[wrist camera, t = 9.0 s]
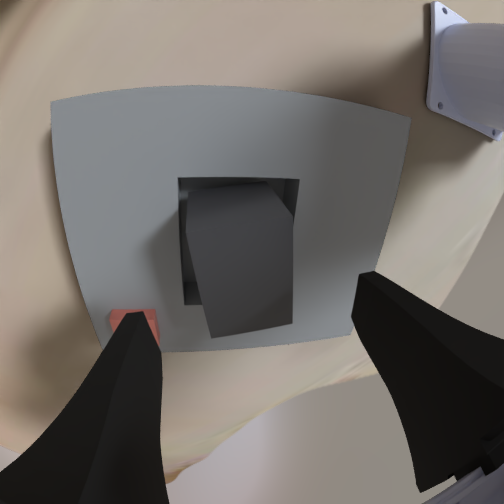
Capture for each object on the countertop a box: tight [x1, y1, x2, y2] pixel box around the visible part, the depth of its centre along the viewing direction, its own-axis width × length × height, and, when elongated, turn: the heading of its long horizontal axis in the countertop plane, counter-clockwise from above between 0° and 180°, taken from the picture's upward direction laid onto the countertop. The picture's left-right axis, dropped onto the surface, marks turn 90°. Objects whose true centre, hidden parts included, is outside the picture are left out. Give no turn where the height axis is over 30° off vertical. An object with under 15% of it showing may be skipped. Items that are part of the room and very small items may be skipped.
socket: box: [51, 85, 411, 352], centre depth 14 cm, size 16×14×3 cm
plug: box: [186, 181, 293, 339], centre depth 13 cm, size 4×5×5 cm
